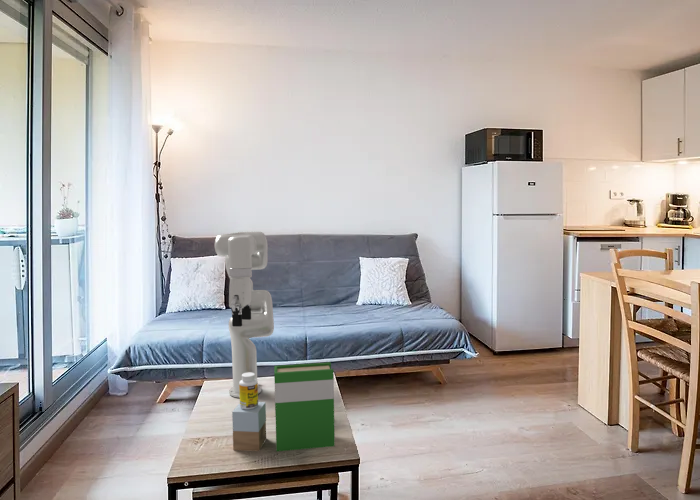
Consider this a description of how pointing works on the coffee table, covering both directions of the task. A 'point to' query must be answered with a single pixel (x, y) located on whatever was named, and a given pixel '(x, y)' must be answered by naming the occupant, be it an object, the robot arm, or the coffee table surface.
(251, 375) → the supplement bottle
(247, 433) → the walnut block
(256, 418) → the slate block
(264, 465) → the coffee table surface
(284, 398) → the hardback book
